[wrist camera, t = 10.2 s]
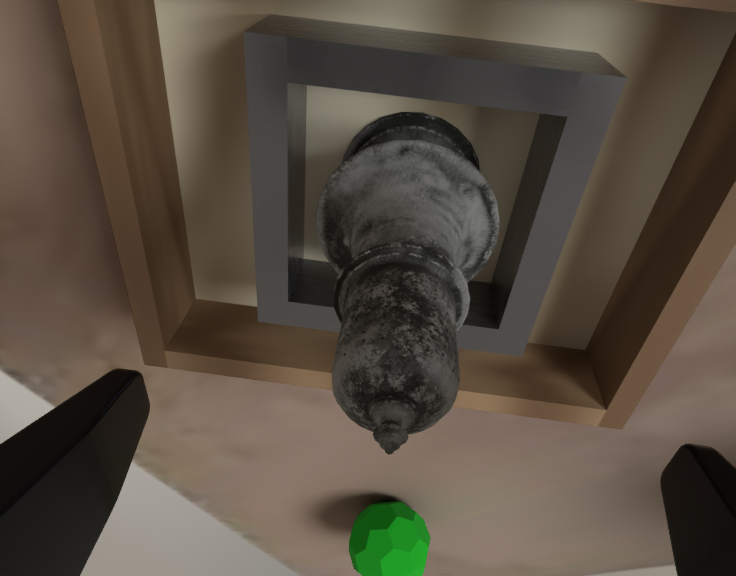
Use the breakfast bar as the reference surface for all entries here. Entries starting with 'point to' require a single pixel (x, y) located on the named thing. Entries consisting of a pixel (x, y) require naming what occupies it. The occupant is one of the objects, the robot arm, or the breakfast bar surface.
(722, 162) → the walled box
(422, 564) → the polyhedron
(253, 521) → the breakfast bar surface
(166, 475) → the breakfast bar surface
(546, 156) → the inlet collar
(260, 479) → the breakfast bar surface
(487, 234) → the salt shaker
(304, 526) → the breakfast bar surface
